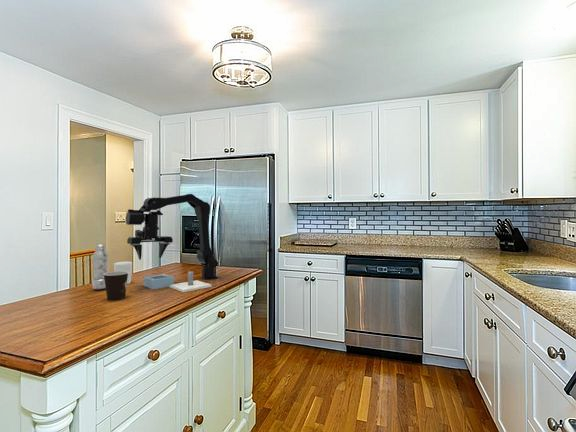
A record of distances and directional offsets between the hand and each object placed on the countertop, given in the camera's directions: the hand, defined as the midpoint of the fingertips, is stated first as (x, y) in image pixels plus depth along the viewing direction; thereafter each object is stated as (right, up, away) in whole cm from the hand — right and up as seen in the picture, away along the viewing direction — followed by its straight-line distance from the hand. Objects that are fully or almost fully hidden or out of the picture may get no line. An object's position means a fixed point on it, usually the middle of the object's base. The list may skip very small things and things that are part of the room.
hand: (150, 258), depth 145 cm
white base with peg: (+18, -13, +1) cm, 22 cm away
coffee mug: (-5, -14, -17) cm, 22 cm away
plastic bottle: (-20, -13, -4) cm, 25 cm away
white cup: (-16, -13, +8) cm, 22 cm away
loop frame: (+3, -13, +3) cm, 14 cm away
